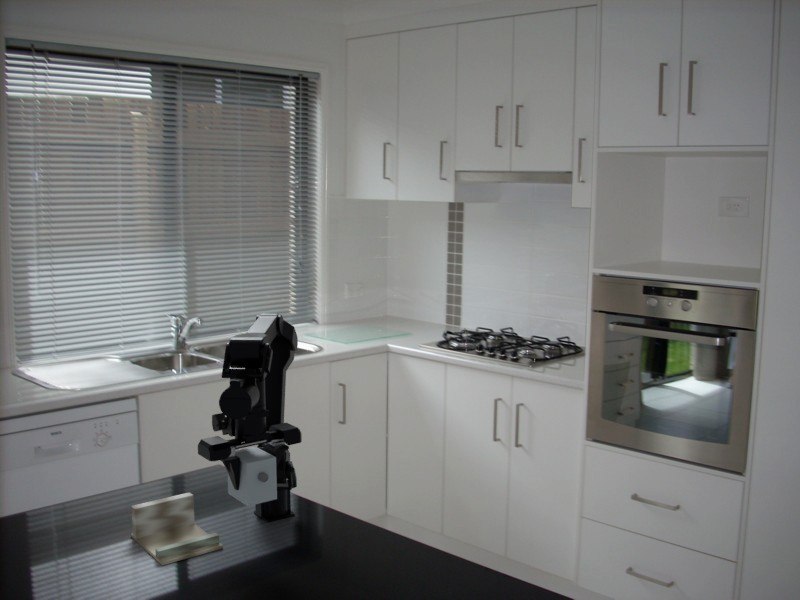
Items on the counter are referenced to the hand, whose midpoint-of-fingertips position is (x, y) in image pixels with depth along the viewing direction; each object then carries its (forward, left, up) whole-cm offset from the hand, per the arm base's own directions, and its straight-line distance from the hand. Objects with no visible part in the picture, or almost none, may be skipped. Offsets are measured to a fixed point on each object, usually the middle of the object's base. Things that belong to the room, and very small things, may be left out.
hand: (252, 485), depth 159 cm
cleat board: (+10, -13, -13) cm, 21 cm away
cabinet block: (0, 0, -2) cm, 2 cm away
